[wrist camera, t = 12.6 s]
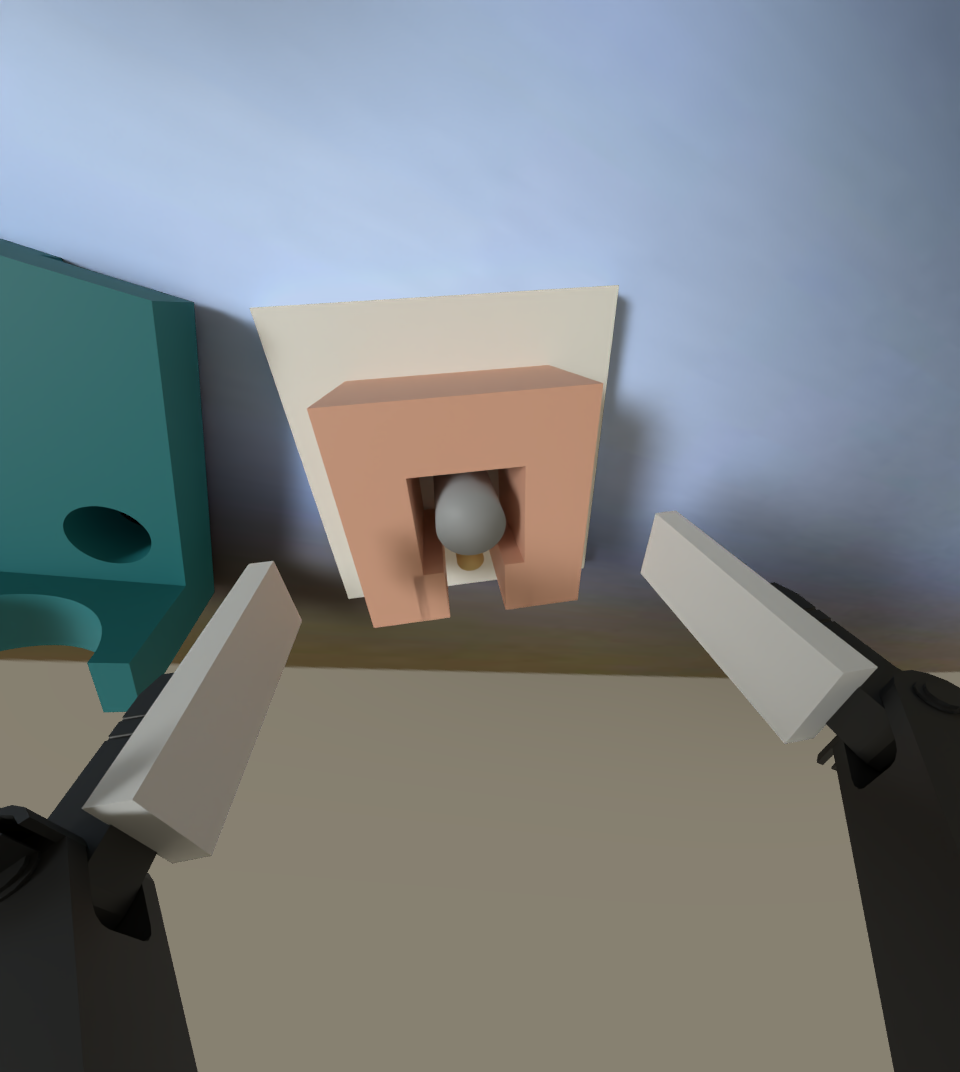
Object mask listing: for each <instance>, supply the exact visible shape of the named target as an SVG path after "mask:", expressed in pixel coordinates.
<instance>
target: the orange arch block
mask: <svg viewBox="0 0 960 1072" xmlns="http://www.w3.org/2000/svg"><path fill="white" fill-rule="evenodd" d="M602 392H603V383H601V382H598V381H595V380H592V379H589V378H586V377H583V376H580V375H577V374H574V373H571V372H568V371H565V370H562V369H559V368H556V367H553V366H550V365H542V366H529V367H517V368H504V369H492V370H479V371H467V372H454V373H441V374H429V375H416V376H404V377H391V378H379V379H366V380H354V381H345V382H343V383H342V384H341V385H339V386H338V387H336V388H335V389H334V390H332V391H331V392H329V393H328V394H326V395H325V396H324V397H322V398H321V399H319V400H318V401H317V402H315V403H314V404H312V405H311V406H310V407H308V408H307V411H308V414H309V418H310V421H311V424H312V428H313V431H314V434H315V437H316V441H317V444H318V447H319V450H320V454H321V457H322V460H323V463H324V467H325V470H326V473H327V476H328V480H329V483H330V486H331V489H332V493H333V496H334V499H335V502H336V506H337V509H338V512H339V516H340V519H341V522H342V525H343V529H344V532H345V535H346V538H347V542H348V545H349V548H350V551H351V555H352V558H353V561H354V564H355V568H356V571H357V574H358V577H359V581H360V584H361V587H362V590H363V594H364V597H365V600H366V604H367V607H368V610H369V613H370V617H371V620H372V623H373V626H374V628H377V627H384V626H391V625H398V624H406V623H413V622H420V621H427V620H435V619H442V618H449V617H450V608H449V596H448V584H447V572H446V560H445V548H444V545H443V544H442V543H441V542H440V540H439V538H438V536H437V532H436V522H435V509H427V510H424V507H423V500H422V494H421V488H420V482H419V477H426V476H436V475H445V474H455V473H465V472H474V471H484V470H494V469H498V476H499V502H500V504H501V507H502V509H503V511H504V514H505V518H506V527H505V531H504V534H503V536H502V538H501V539H500V541H499V542H498V543H497V544H496V545H495V546H494V547H493V548H491V549H490V550H489V551H490V555H491V559H492V562H493V566H494V569H495V573H496V577H497V580H498V584H499V587H500V591H501V594H502V598H503V602H504V605H505V609H506V610H507V609H515V608H522V607H529V606H536V605H544V604H551V603H558V602H566V601H573V600H578V592H579V584H580V575H581V567H582V559H583V550H584V542H585V534H586V525H587V517H588V508H589V500H590V492H591V483H592V475H593V467H594V458H595V450H596V442H597V433H598V425H599V417H600V408H601V400H602Z"/></svg>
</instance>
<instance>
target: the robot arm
mask: <svg viewBox="0 0 960 1072" xmlns="http://www.w3.org/2000/svg"><path fill="white" fill-rule="evenodd" d="M641 574H642V575H643V577H644V578H645V579H646V580H647V581H648V582H649V584H650V585H651V586H652V587H653V588H654V590H655V591H656V592H657V593H658V594H659V595H660V597H661V598H662V599H663V600H664V601H665V603H666V604H667V605H668V606H669V607H670V608H671V610H672V611H673V612H674V613H675V614H676V616H677V617H678V618H679V619H680V620H681V621H682V623H683V624H684V625H685V626H686V627H687V629H688V630H689V631H690V632H691V633H692V634H693V636H694V637H695V638H696V639H697V640H698V642H699V643H700V644H701V645H702V646H703V648H704V649H705V650H706V651H707V652H708V653H709V655H710V656H711V657H712V658H713V659H714V661H715V662H716V663H717V664H718V665H719V666H720V668H721V669H722V670H723V671H724V672H725V674H726V675H727V676H728V677H729V678H730V679H731V681H732V682H733V683H734V684H735V685H736V687H737V688H738V689H739V690H740V691H741V692H742V694H743V695H744V696H745V697H746V698H747V699H748V701H749V702H750V703H751V704H752V705H753V707H754V708H755V709H756V710H757V711H758V713H759V714H760V715H761V716H762V717H763V718H764V720H765V721H766V722H767V723H768V724H769V725H770V727H771V728H772V729H773V730H774V731H775V733H776V734H777V735H778V736H779V737H780V738H781V740H782V741H783V742H784V743H785V744H787V743H792V742H797V741H803V740H807V739H813V738H814V737H815V736H816V735H817V734H818V733H819V732H820V731H821V729H822V728H823V727H824V726H825V725H826V724H827V725H828V726H829V727H830V728H831V729H832V730H833V731H834V732H835V733H836V734H837V736H836V737H835V738H834V739H833V740H832V741H831V742H830V743H829V744H828V745H827V746H826V747H825V748H824V749H823V750H822V751H821V752H820V753H819V754H818V758H817V763H819V764H822V765H823V764H824V763H825V762H826V761H827V760H828V759H829V758H830V757H831V756H832V755H834V758H835V764H834V765H833V766H832V769H834V770H836V771H837V773H838V779H839V784H840V790H841V794H842V800H843V805H844V810H845V816H846V820H847V826H848V831H849V836H850V842H851V847H852V852H853V858H854V863H855V868H856V873H857V879H858V884H859V889H860V894H861V900H862V905H863V910H864V915H865V921H866V925H867V931H868V936H869V942H870V947H871V952H872V957H873V963H874V968H875V973H876V978H877V984H878V988H879V994H880V999H881V1004H882V1009H883V1015H884V1020H885V1025H886V1031H887V1036H888V1041H889V1047H890V1051H891V1057H892V1062H893V1067H894V1072H960V688H959V687H957V686H955V685H954V684H952V683H950V682H948V681H946V680H944V679H941V678H939V677H936V676H933V675H930V674H928V673H923V672H918V671H914V670H908V671H901V670H900V669H898V668H897V667H895V666H894V665H892V664H891V663H890V662H888V661H887V660H886V659H884V658H883V657H882V656H880V655H879V654H878V653H876V652H875V651H874V650H872V649H871V648H869V647H868V646H867V645H865V644H864V643H863V642H861V641H860V640H859V639H857V638H856V637H855V636H853V635H852V634H851V633H849V632H848V631H847V630H845V629H844V628H843V627H841V626H840V625H839V624H837V623H836V622H835V621H834V622H832V621H831V620H830V619H831V618H829V617H828V616H827V615H825V614H824V613H823V612H821V611H820V610H816V609H815V607H814V606H813V605H812V604H810V603H809V602H808V601H806V600H805V599H804V598H802V597H801V596H800V595H798V594H797V593H795V592H793V591H791V590H789V589H787V588H785V587H783V586H781V585H779V584H777V583H775V582H774V583H769V582H767V581H766V580H765V579H763V578H762V577H761V576H760V575H758V574H757V573H756V572H754V571H753V570H752V569H751V568H749V567H748V566H747V565H745V564H744V563H743V562H741V561H740V560H739V559H738V558H736V557H735V556H734V555H732V554H731V553H730V552H729V551H727V550H726V549H725V548H723V547H722V546H721V545H720V544H718V543H717V542H716V541H714V540H713V539H712V538H710V537H709V536H708V535H707V534H705V533H704V532H703V531H701V530H700V529H699V528H698V527H696V526H695V525H694V524H692V523H691V522H690V521H689V520H687V519H686V518H685V517H683V516H682V515H681V514H679V513H678V512H677V511H669V512H661V513H656V514H655V518H654V522H653V526H652V530H651V534H650V538H649V542H648V546H647V550H646V554H645V558H644V561H643V565H642V569H641ZM301 622H302V620H301V617H300V615H299V613H298V611H297V609H296V607H295V605H294V603H293V601H292V598H291V596H290V594H289V592H288V590H287V588H286V586H285V584H284V582H283V580H282V577H281V575H280V573H279V571H278V569H277V567H276V565H275V563H274V561H268V562H260V563H252V564H248V566H247V567H246V569H245V570H244V572H243V573H242V575H241V576H240V577H239V579H238V580H237V582H236V583H235V585H234V586H233V588H232V589H231V591H230V592H229V594H228V595H227V597H226V598H225V599H224V601H223V602H222V604H221V605H220V607H219V608H218V610H217V611H216V613H215V614H214V616H213V617H212V618H211V620H210V621H209V623H208V624H207V626H206V627H205V629H204V630H203V632H202V633H201V635H200V636H199V637H198V639H197V640H196V642H195V643H194V645H193V646H192V648H191V649H190V651H189V652H188V654H187V655H186V657H185V658H184V659H183V661H182V662H181V664H180V665H179V667H178V668H177V670H176V671H175V673H170V674H162V675H161V676H160V677H159V678H157V679H156V680H155V681H154V682H153V683H152V684H151V685H150V686H148V687H147V688H146V689H145V690H144V691H143V692H142V693H140V694H139V696H138V697H137V698H136V700H135V701H134V702H133V704H132V705H131V706H130V708H129V709H128V710H127V712H126V713H125V715H124V716H123V720H122V721H121V722H119V723H118V724H117V725H116V727H115V728H114V729H113V731H112V732H111V734H110V735H109V740H108V741H105V742H104V743H103V744H102V746H101V747H100V748H99V750H98V751H97V753H96V754H95V755H94V757H93V758H92V759H91V761H90V762H89V764H88V765H87V766H86V767H85V769H84V770H83V772H82V773H81V774H80V776H79V777H78V779H77V780H76V781H75V783H74V784H73V785H72V787H71V788H70V789H69V791H68V792H67V793H66V795H65V796H64V798H63V799H62V800H61V802H60V803H59V804H58V806H57V807H56V808H55V810H54V811H53V812H52V814H51V815H50V816H49V818H48V819H46V818H44V817H41V816H40V815H38V814H36V813H34V812H33V811H31V810H29V809H27V808H25V807H20V806H14V805H11V806H7V807H4V808H0V1072H197V1067H196V1063H195V1058H194V1054H193V1050H192V1046H191V1041H190V1037H189V1032H188V1028H187V1024H186V1019H185V1015H184V1010H183V1006H182V1002H181V997H180V993H179V989H178V985H177V980H176V975H175V971H174V967H173V962H172V958H171V954H170V950H169V946H168V941H167V936H166V932H165V928H164V923H163V919H162V914H161V910H160V906H159V901H158V897H157V893H156V888H155V884H154V881H153V879H152V878H151V877H150V875H149V873H147V872H148V870H149V868H150V866H151V864H152V862H153V860H154V858H155V856H156V854H158V855H159V856H161V857H162V858H165V859H166V860H167V861H169V862H171V863H177V862H182V861H188V860H193V859H198V858H203V857H208V856H212V854H213V851H214V848H215V846H216V843H217V841H218V838H219V835H220V833H221V830H222V828H223V825H224V822H225V820H226V817H227V815H228V812H229V809H230V807H231V804H232V802H233V799H234V796H235V794H236V791H237V788H238V786H239V783H240V781H241V778H242V776H243V773H244V770H245V768H246V765H247V763H248V760H249V757H250V754H251V752H252V750H253V747H254V744H255V742H256V739H257V737H258V734H259V731H260V729H261V726H262V724H263V721H264V718H265V716H266V713H267V710H268V708H269V705H270V702H271V700H272V697H273V695H274V692H275V689H276V687H277V684H278V682H279V679H280V677H281V674H282V671H283V669H284V666H285V664H286V661H287V658H288V656H289V653H290V651H291V648H292V645H293V643H294V640H295V638H296V635H297V632H298V630H299V627H300V625H301Z"/></svg>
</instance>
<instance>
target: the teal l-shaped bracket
mask: <svg viewBox="0 0 960 1072" xmlns="http://www.w3.org/2000/svg"><path fill="white" fill-rule="evenodd" d="M117 510H118V511H120V512H123V513H125V514H127V515H129V516H131V517H132V518H134V519H135V520H137V521H138V522H139V523H140V524H141V525H142V526H140V525H137V524H135V523H133V522H131V521H129V520H128V519H126V518H125V517H124V516H122V515H121V514H120V513H119V512H118V511H117ZM213 594H214V578H213V564H212V550H211V536H210V522H209V508H208V494H207V480H206V466H205V451H204V437H203V423H202V409H201V395H200V381H199V367H198V353H197V339H196V325H195V310H194V302H191V301H188V300H184V299H181V298H178V297H175V296H171V295H168V294H165V293H162V292H158V291H155V290H152V289H149V288H145V287H142V286H139V285H136V284H132V283H129V282H126V281H123V280H119V279H116V278H113V277H110V276H106V275H103V274H100V273H97V272H94V271H90V270H87V269H84V268H81V267H77V266H74V265H71V264H68V263H64V262H63V261H62V258H60V257H56V256H53V255H50V254H47V253H44V252H41V251H38V250H35V249H31V248H28V247H25V246H22V245H19V244H16V243H13V242H9V241H6V240H3V239H0V651H3V650H8V649H14V648H20V647H27V646H38V645H66V646H75V647H80V648H84V649H88V650H91V651H93V652H95V653H94V655H93V656H92V657H91V659H90V660H89V661H88V663H87V664H88V666H89V670H90V672H91V675H92V679H93V682H94V685H95V688H96V691H97V693H98V697H99V699H100V702H101V705H102V708H103V711H104V712H127V710H128V709H129V708H130V706H131V705H132V704H133V702H134V701H135V700H136V698H137V697H138V696H139V694H140V693H142V692H143V691H144V690H145V689H146V688H147V687H148V686H150V685H151V684H152V683H153V682H154V681H155V680H156V679H157V678H159V677H160V676H161V675H162V674H164V673H165V672H166V670H167V668H168V667H169V665H170V664H171V662H172V660H173V659H174V657H175V655H176V654H177V652H178V651H179V649H180V647H181V646H182V644H183V642H184V641H185V639H186V638H187V636H188V634H189V633H190V631H191V629H192V628H193V626H194V625H195V623H196V621H197V620H198V618H199V616H200V615H201V613H202V612H203V610H204V608H205V607H206V605H207V603H208V602H209V600H210V598H211V597H212V595H213Z"/></svg>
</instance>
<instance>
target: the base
mask: <svg viewBox="0 0 960 1072" xmlns="http://www.w3.org/2000/svg"><path fill="white" fill-rule="evenodd" d="M618 289H619V285H614V286H597V287H581V288H565V289H549V290H533V291H516V292H500V293H484V294H468V295H452V296H435V297H419V298H403V299H387V300H371V301H354V302H338V303H322V304H306V305H290V306H273V307H257V308H250V311H251V313H252V316H253V319H254V322H255V325H256V328H257V331H258V334H259V337H260V340H261V343H262V346H263V349H264V352H265V355H266V358H267V361H268V363H269V366H270V369H271V372H272V375H273V378H274V381H275V384H276V387H277V390H278V393H279V396H280V399H281V402H282V405H283V408H284V410H285V413H286V416H287V419H288V422H289V425H290V428H291V431H292V434H293V437H294V440H295V443H296V446H297V449H298V452H299V455H300V457H301V460H302V463H303V466H304V469H305V472H306V475H307V478H308V481H309V484H310V487H311V490H312V493H313V496H314V499H315V502H316V505H317V507H318V510H319V513H320V516H321V519H322V522H323V525H324V528H325V531H326V534H327V537H328V540H329V543H330V546H331V549H332V552H333V554H334V557H335V560H336V563H337V566H338V569H339V572H340V575H341V578H342V581H343V584H344V587H345V590H346V593H347V596H348V599H351V598H359V597H364V594H363V590H362V587H361V584H360V581H359V577H358V574H357V571H356V568H355V564H354V561H353V558H352V555H351V551H350V548H349V545H348V542H347V538H346V535H345V532H344V529H343V525H342V522H341V519H340V516H339V512H338V509H337V506H336V502H335V499H334V496H333V493H332V489H331V486H330V483H329V480H328V476H327V473H326V470H325V467H324V463H323V460H322V457H321V454H320V450H319V447H318V444H317V441H316V437H315V434H314V431H313V428H312V424H311V421H310V418H309V414H308V411H307V408H308V407H310V406H311V405H312V404H314V403H315V402H317V401H318V400H319V399H321V398H322V397H324V396H325V395H326V394H328V393H329V392H331V391H332V390H334V389H335V388H336V387H338V386H339V385H341V384H342V383H343V382H345V381H354V380H366V379H379V378H391V377H404V376H416V375H429V374H441V373H454V372H467V371H479V370H492V369H504V368H517V367H529V366H542V365H550V366H553V367H556V368H559V369H562V370H565V371H568V372H571V373H574V374H577V375H580V376H583V377H586V378H589V379H592V380H595V381H598V382H601V383H603V392H602V400H601V408H600V417H599V425H598V433H597V442H596V450H595V458H594V467H593V475H592V483H591V492H590V500H589V508H588V517H587V525H586V534H585V542H584V550H583V559H582V567H581V568H584V563H585V555H586V547H587V539H588V531H589V522H590V514H591V506H592V498H593V490H594V482H595V474H596V466H597V458H598V450H599V442H600V434H601V426H602V418H603V410H604V402H605V394H606V386H607V377H608V369H609V361H610V353H611V345H612V337H613V329H614V321H615V313H616V305H617V297H618ZM419 482H420V488H421V494H422V500H423V507H424V510H427V509H435V522H436V532H437V536H438V538H439V540H440V542H441V543H442V544H443V545H444V548H445V560H446V572H447V584H448V586H451V585H458V584H466V583H474V582H481V581H489V580H497V577H496V573H495V569H494V566H493V562H492V559H491V555H490V551H489V550H490V549H491V548H493V547H494V546H495V545H496V544H497V543H498V542H499V541H500V539H501V538H502V536H503V534H504V531H505V527H506V518H505V514H504V511H503V509H502V507H501V504H500V502H499V476H498V469H494V470H484V471H474V472H465V473H455V474H445V475H436V476H426V477H419Z"/></svg>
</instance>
